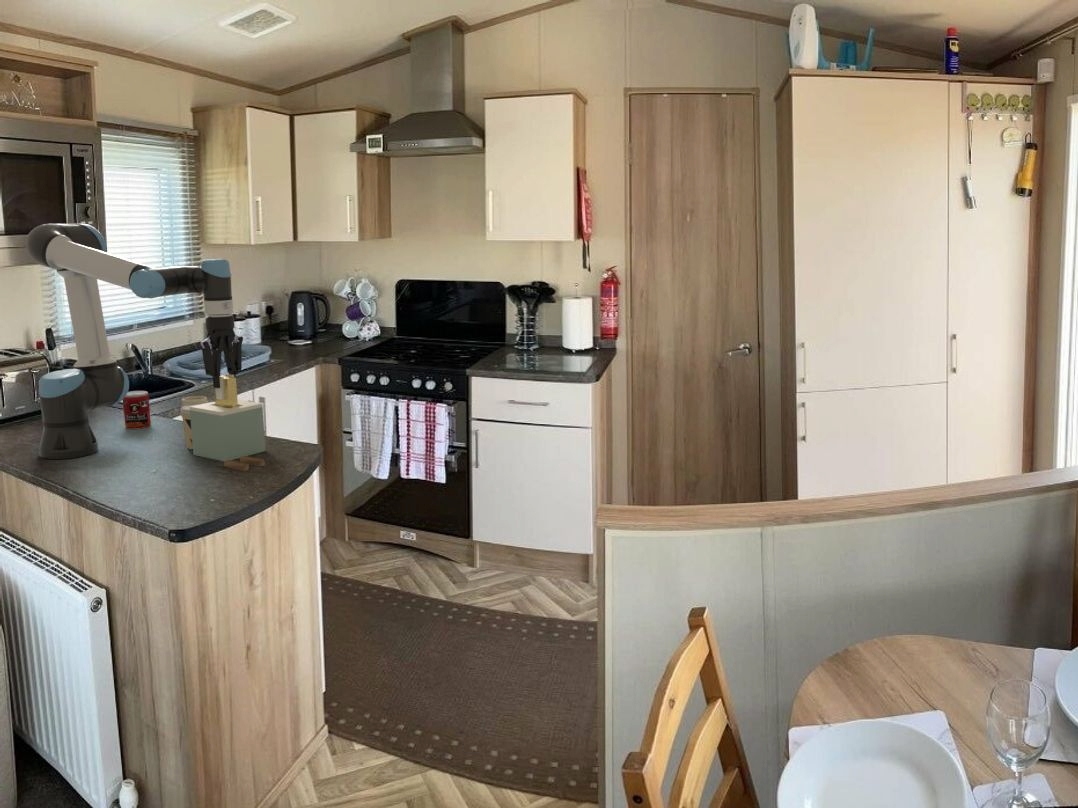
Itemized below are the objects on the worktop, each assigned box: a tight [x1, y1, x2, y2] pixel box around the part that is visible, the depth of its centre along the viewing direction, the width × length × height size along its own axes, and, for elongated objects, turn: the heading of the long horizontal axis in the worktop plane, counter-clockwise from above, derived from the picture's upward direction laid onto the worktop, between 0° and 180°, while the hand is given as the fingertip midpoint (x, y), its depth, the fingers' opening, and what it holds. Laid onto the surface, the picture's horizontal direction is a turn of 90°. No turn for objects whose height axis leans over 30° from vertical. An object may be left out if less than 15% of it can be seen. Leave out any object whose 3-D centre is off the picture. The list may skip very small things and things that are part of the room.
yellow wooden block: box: [213, 375, 239, 408], centre depth 259 cm, size 3×6×9 cm, turn 56°
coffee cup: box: [180, 404, 200, 450], centre depth 268 cm, size 9×9×12 cm
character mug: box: [180, 395, 210, 417], centre depth 275 cm, size 11×7×13 cm, turn 156°
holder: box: [223, 456, 266, 472], centre depth 248 cm, size 7×8×2 cm
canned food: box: [122, 390, 152, 429], centre depth 295 cm, size 8×8×11 cm
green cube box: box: [190, 398, 266, 462], centre depth 261 cm, size 14×14×14 cm
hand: (225, 397), depth 259 cm, fingers closed on yellow wooden block, 3 cm apart
